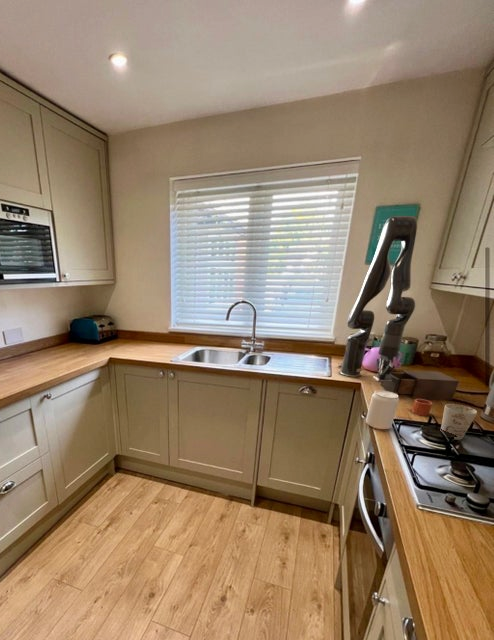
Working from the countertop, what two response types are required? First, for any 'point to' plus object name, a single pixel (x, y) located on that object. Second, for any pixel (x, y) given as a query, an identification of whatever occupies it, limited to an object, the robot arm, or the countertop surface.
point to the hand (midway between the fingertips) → (380, 381)
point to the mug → (457, 419)
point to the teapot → (372, 357)
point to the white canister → (382, 409)
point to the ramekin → (422, 407)
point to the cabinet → (432, 385)
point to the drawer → (398, 383)
